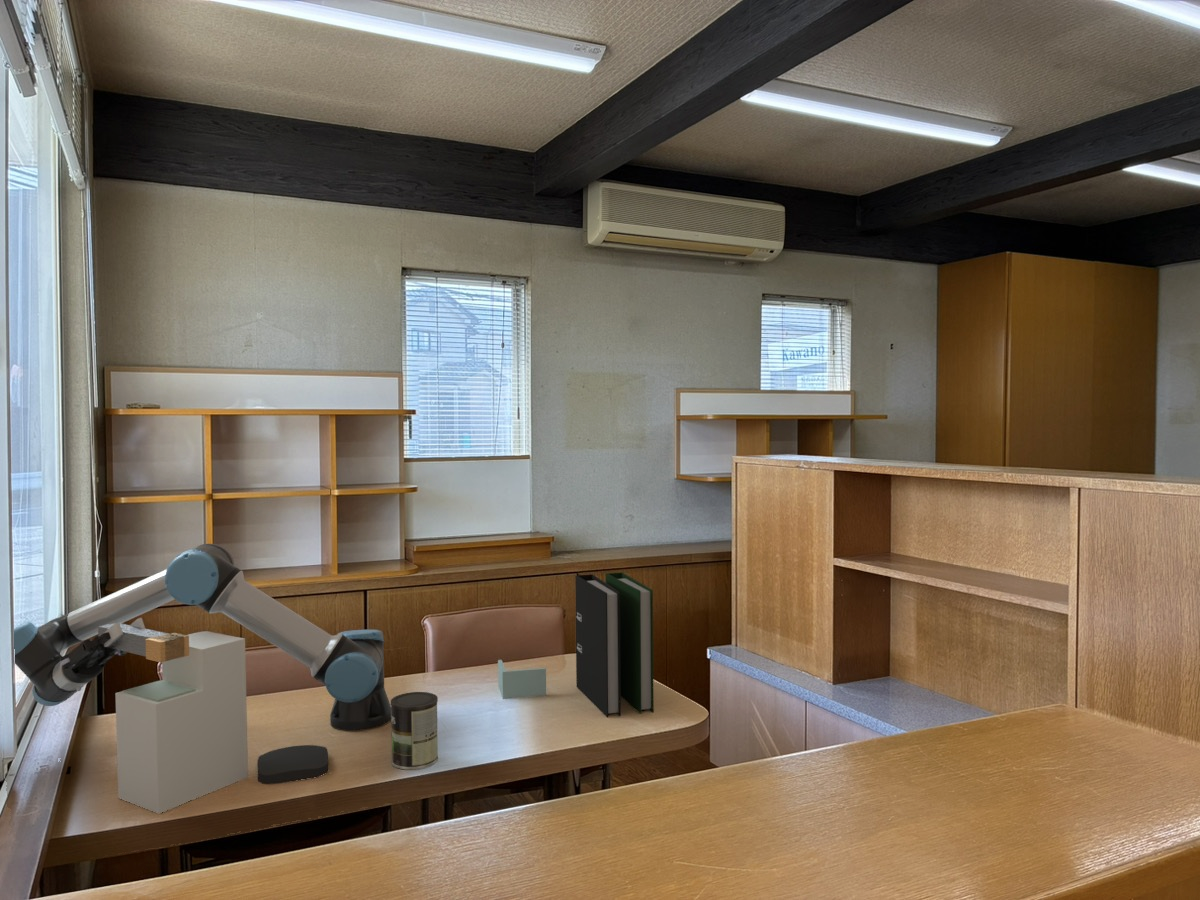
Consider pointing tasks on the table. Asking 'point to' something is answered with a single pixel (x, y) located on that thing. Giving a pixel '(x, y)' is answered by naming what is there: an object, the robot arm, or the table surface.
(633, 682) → the dark upright rectangular slabs
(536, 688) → the right angle wall
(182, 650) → the grey rectangular bar
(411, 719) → the coffee can
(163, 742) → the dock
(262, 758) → the media streaming box
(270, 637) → the robot arm
